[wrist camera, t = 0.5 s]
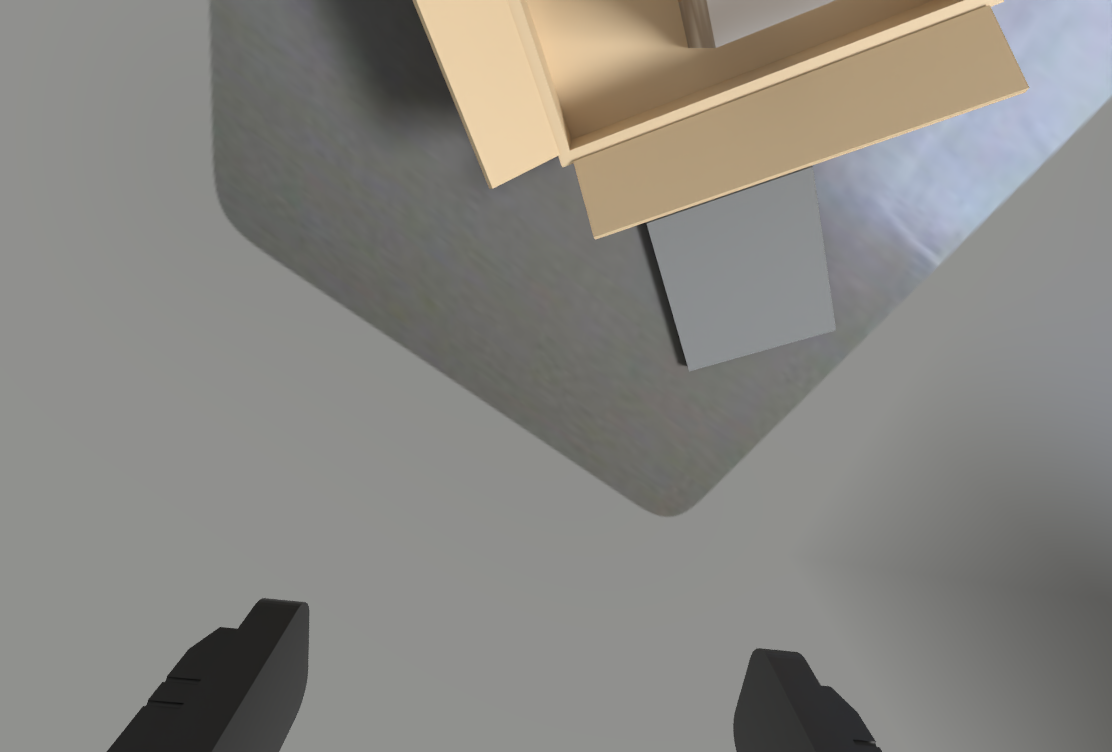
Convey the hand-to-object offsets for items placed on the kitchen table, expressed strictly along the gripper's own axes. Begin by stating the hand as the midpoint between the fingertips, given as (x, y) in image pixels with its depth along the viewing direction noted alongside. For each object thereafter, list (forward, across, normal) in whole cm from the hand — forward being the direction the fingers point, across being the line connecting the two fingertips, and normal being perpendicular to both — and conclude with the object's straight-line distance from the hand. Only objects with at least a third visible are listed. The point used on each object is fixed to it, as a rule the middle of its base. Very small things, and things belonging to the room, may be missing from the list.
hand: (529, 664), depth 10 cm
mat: (+25, -12, -6) cm, 28 cm away
